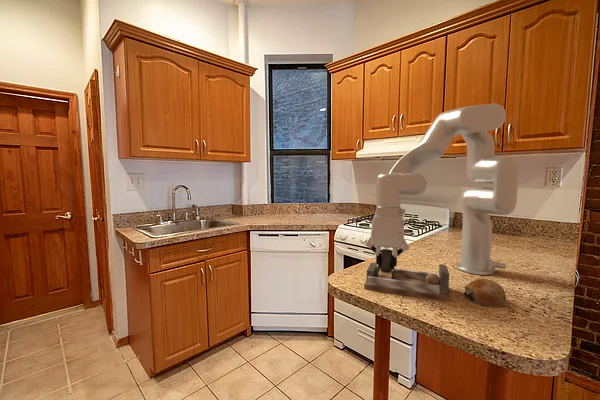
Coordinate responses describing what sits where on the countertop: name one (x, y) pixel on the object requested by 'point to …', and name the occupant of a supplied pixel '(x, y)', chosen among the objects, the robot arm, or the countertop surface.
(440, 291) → the base
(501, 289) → the bread roll
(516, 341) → the countertop surface
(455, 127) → the robot arm
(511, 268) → the countertop surface
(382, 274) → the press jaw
